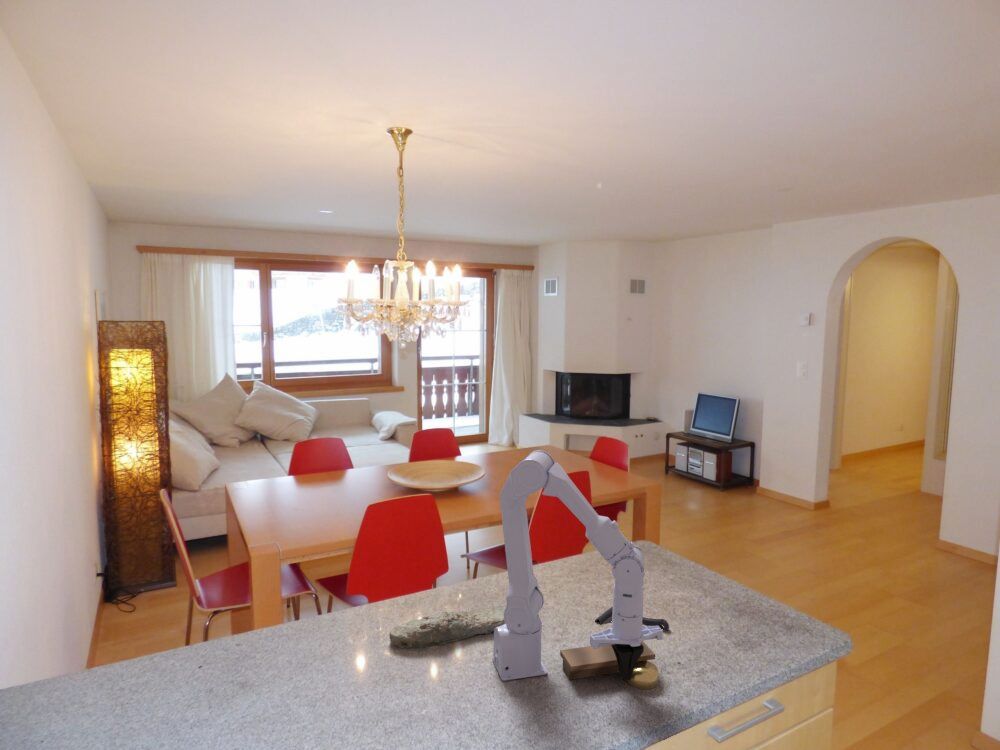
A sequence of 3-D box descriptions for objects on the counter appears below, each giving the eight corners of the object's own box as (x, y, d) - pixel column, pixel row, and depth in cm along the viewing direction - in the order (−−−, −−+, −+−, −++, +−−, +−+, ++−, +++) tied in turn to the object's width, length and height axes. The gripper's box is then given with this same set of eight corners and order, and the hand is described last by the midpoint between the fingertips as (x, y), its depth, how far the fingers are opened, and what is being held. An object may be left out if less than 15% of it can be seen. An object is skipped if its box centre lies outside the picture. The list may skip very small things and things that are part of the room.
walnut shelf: (570, 686, 119) (571, 666, 119) (559, 668, 125) (560, 650, 124) (654, 673, 124) (655, 654, 123) (639, 657, 130) (640, 639, 129)
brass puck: (635, 691, 118) (635, 678, 118) (621, 673, 124) (621, 661, 123) (663, 686, 119) (663, 674, 119) (648, 669, 125) (648, 657, 125)
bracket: (654, 646, 135) (654, 634, 135) (594, 624, 144) (595, 613, 144) (679, 621, 147) (680, 610, 146) (622, 602, 156) (623, 592, 155)
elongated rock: (544, 633, 142) (525, 615, 151) (545, 610, 142) (526, 594, 151) (395, 656, 128) (384, 636, 137) (396, 631, 128) (385, 612, 137)
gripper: (601, 625, 113) (599, 695, 114) (672, 616, 116) (669, 684, 118) (586, 607, 119) (584, 673, 121) (653, 599, 123) (650, 663, 125)
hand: (625, 677), depth 120 cm, fingers closed
